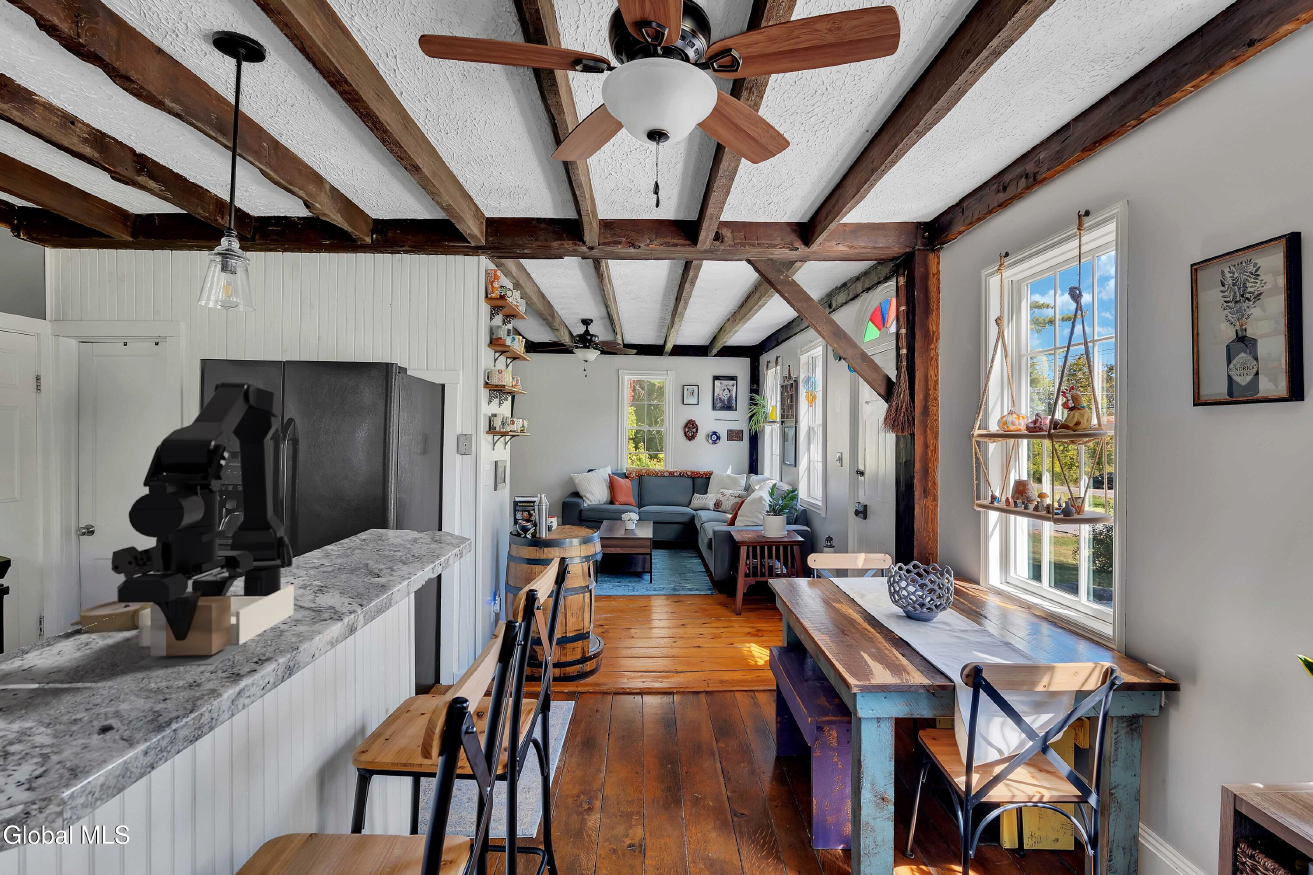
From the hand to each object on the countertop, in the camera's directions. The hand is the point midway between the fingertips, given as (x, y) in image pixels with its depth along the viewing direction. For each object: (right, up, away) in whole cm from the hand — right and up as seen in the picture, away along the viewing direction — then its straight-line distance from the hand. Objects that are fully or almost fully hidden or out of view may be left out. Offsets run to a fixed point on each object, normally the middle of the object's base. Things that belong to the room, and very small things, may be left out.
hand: (192, 634), depth 82 cm
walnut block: (0, -2, 0) cm, 2 cm away
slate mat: (0, -3, 0) cm, 3 cm away
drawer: (-4, -3, +11) cm, 12 cm away
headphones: (-20, -4, +15) cm, 25 cm away
